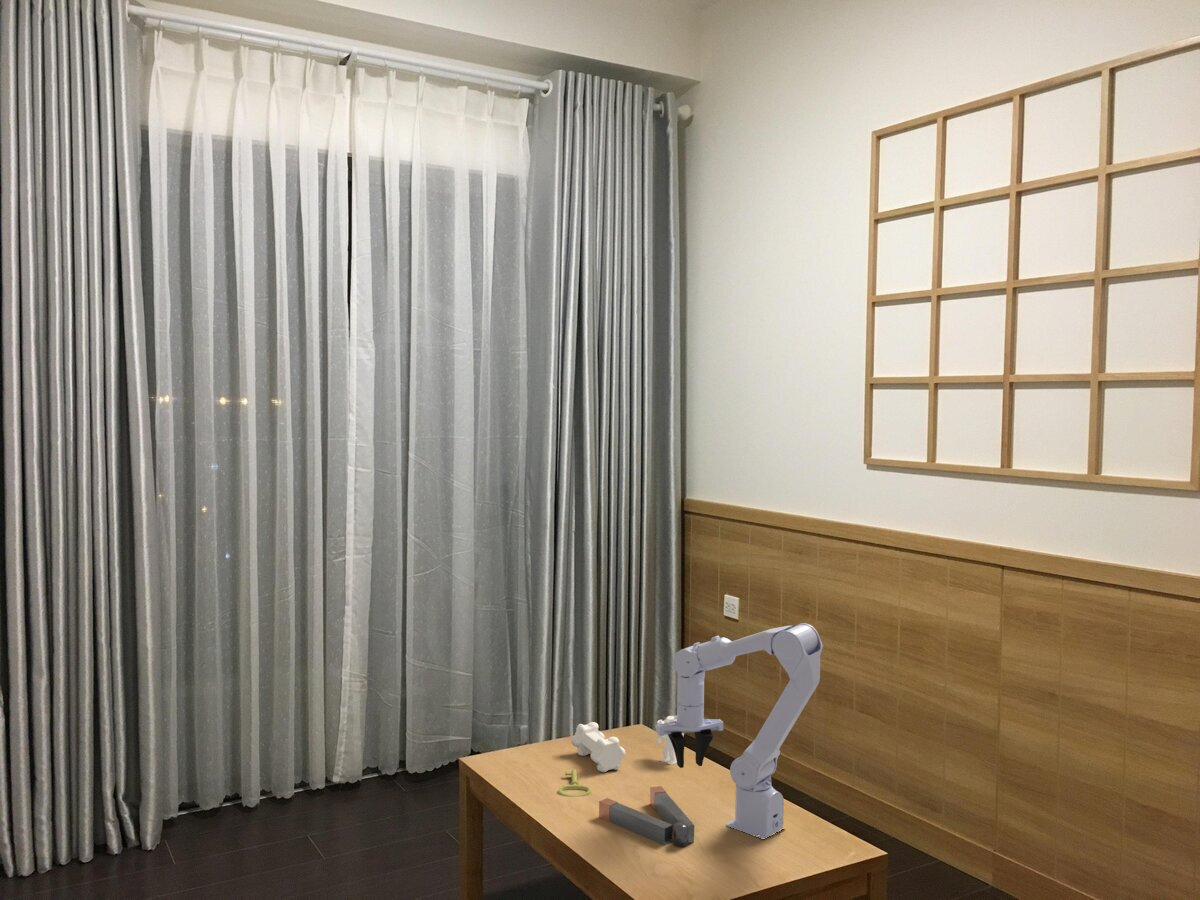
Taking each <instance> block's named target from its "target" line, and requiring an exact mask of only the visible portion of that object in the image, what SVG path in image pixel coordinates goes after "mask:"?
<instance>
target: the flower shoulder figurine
mask: <svg viewBox="0 0 1200 900" xmlns="http://www.w3.org/2000/svg"><path fill="white" fill-rule="evenodd" d="M676 720H677V715H668V716H666V717H665V719H664V720H663V719H658V721H656V722H657V723H656V724H655V725H654V727H655V730H656V731H657V724H663V723H668V722H672V721H676ZM682 735H683V737H684V735H685V733H682ZM663 739H664V742H663V743H664V744H663V747H662V748H663V750H662V757H661V758H660V762H662V763H666V762H667V765H668V766H671V765H675V764H676V765H677V760H676V755H675V751H674V748H673V745H672V743H671V741H670V738H669V736H668V734H664V736H659V735H658V737H657V738H656V740H655V744H657V745H660V744H661V742H662V741H663Z"/></svg>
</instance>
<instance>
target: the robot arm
mask: <svg viewBox="0 0 1200 900" xmlns="http://www.w3.org/2000/svg"><path fill="white" fill-rule="evenodd" d="M823 649H824V645H823V642H822V640H821V638H820V635H819V632H818V631H817V629H816V628H815V627H814V626H812V625H811V624H809V623H806V622H805V623H803V622H802V623H798V624H796V625H794V626H793V625H784V626H779V627H773V628H770V629H766V630H763V631H760V632H757V633H754V634H751V635H748V636H745V637H741V638H739V639H735V640H731V639H729V638H727V637H720V635H716V636H713V637H711V638H710V640H708V641H706V642H702V643H701V642H699V641H697V642H695V643H693V644H692V645H690V646H687V647H685V648H681V649H679V650H678V651H677V652H676V653H675V654H673V657H672V666H673V669H674V670H675V673H677V680H676V681H677V682H676V683H677V685H676V686H677V687H676V688H677V693H676V694H677V695H676V698H677V699H676V701H677V702H676V712H677V713H676V716H677V718H676V719H677V720H676V721H672V722H668V723H663V724H657V723H656V725H657V728H656V729H657V730H656V734H657V735H658V737H659V736H664V734H668V736H669V738H670V741H671V743H672V745H673V748H674V751H675V757H676V761H677V763H676V765H677V766H678V767H679V768H680V769H683V768H684V765H685V756H684V755H685V746H686V741H687V740H686V739H685V738H684V736H683V735H682V733H684V734H686V733H687V734H688V733H694V737H695V738H694V740H695V764H696V765H697V766H698V767H702V766H703V762H704V758H705V755H706V752H707V750H708V748H709V746H710V743H712V740H713V738H714V734H713V733H712V731H718V732H719V731H720V732H721V731H724V721H723V720H722V719H720V718H718V719H706V718H705V717H704V716H705V715H704V714H705V713H704V712H705V711H704V710H705V677H706V672H708V671H710V670H715V669H718V668H721V667H725V666H730V665H732V664H733V663H734V662H735V661H736V657H737V656H738V657H739V656H742V655H746V654H750V653H755V652H760V651H765V652H766V653H767V654H768V655H770V656H773V655H774V656H775V657H776V658H777V660H778V661H779V663H780V665H781V666H782V667H783V669H784V670H785V672H786V673H787V674H788V677H789V681H788V683H787V685H786V686H785V688H784V689H783V690H782V693H781V695H780V697H779V698H778V700H777V701H776V703H775V705H774V707H772V710H771V711H770V713H769V715H768V716H767V718H766V719H765V722H764V723H763V725H762V726H761V728H760V730H759V731H758V734H757V735H756V736H755V738H754V740H753V741H752V742H751V743H750V745H749V746H748V747H747V748H746V749H745V750H744V751H743V753H742V754H741V756H739V757H737V758H735V759H734V760H733V761H732V762H731V764H730V768H729V773H730V777H731V780H732V781H733V782H734V784H735V802H734V803H735V811H734V812H735V813H734V814H735V815H734V816H735V817H734V819H733V820H731V821H728V822H726V827H728V828H730V827H731V828H730V829H733V828H734V829H733V830H736V829H737V830H736V831H738V830H740V831H739V832H741V831H743V832H746V833H748V834H747V835H749V834H751V835H755V836H758V835H760V836H758V837H760V838H766V837H768V836H770V835H772V834H773V833H775V832H777V831H779V830H780V829H782V828H783V825H784V816H785V815H784V813H785V811H784V807H785V804H784V803H785V801H784V796H783V794H782V793H781V792H779V791H777V790H776V789H775V788H774V787H773V786H772V775H774V773H775V771H776V770H777V767H778V764H777V763H778V758H779V756H780V754H781V751H780V748H781V747H782V745H783V743H784V742H785V740H786V738H787V737H788V735H789V733H790V732H791V730H792V728H793V727H794V725H795V724H796V722H797V720H798V718H799V717H800V715H801V713H802V712H803V710H804V709H805V707H806V705H807V704H808V702H809V700H810V698H811V697H812V696H813V694H814V692H815V690H816V689H817V687H818V685H819V683H820V680H821V653H822V652H823ZM743 832H742V833H743ZM746 833H745V834H746ZM751 835H750V836H751Z"/></svg>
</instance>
